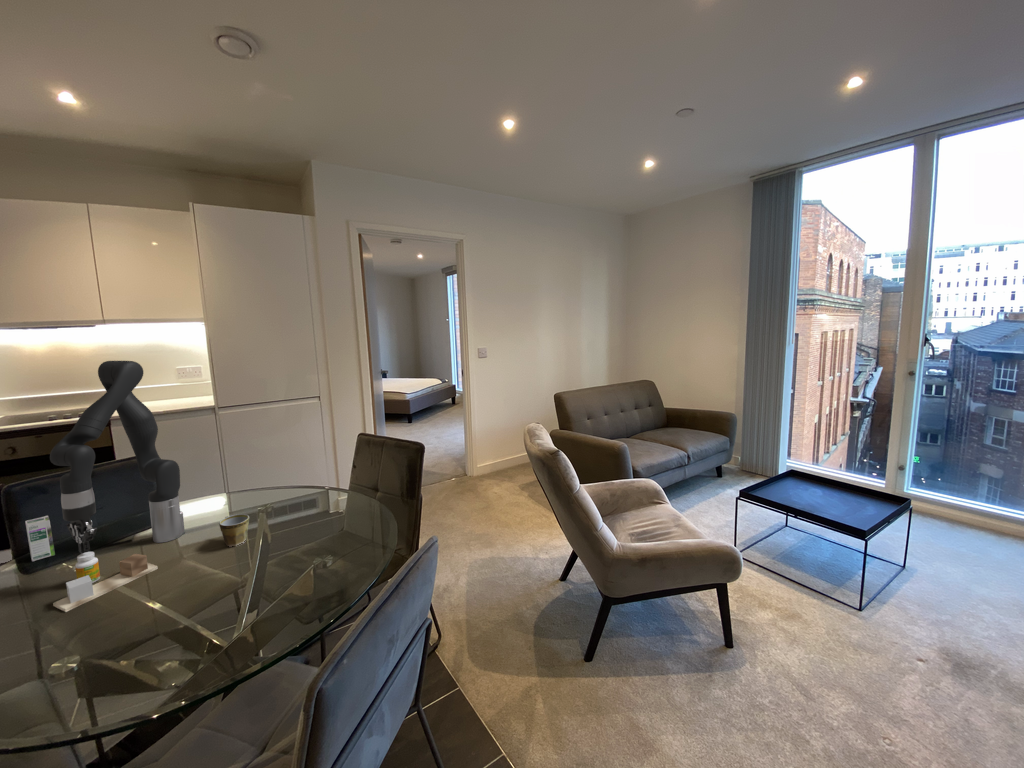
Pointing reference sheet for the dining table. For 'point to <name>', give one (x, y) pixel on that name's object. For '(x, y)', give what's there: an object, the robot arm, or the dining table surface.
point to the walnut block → (133, 565)
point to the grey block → (79, 589)
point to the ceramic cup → (234, 529)
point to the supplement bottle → (87, 566)
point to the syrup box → (40, 538)
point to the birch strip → (102, 588)
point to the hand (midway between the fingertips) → (84, 551)
